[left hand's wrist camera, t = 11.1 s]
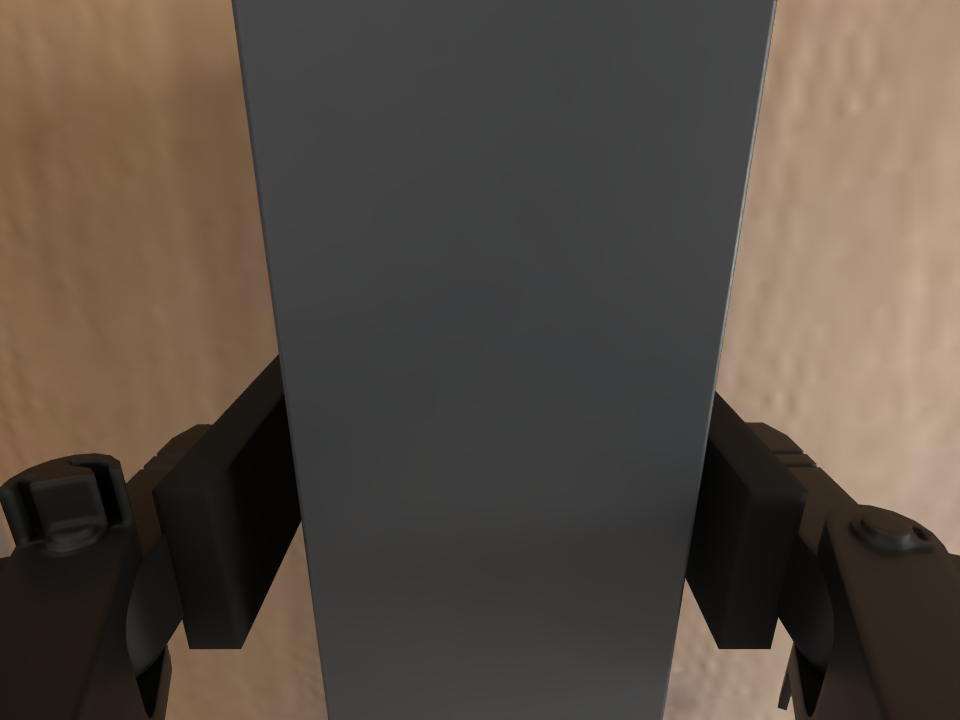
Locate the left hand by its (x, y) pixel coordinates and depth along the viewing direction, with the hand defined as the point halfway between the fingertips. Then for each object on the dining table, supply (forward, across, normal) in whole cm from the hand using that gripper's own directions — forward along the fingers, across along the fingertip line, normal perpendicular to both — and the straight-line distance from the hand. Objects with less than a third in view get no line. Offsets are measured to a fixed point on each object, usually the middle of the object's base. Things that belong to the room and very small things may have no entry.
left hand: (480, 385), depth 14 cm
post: (+2, 0, -26) cm, 26 cm away
